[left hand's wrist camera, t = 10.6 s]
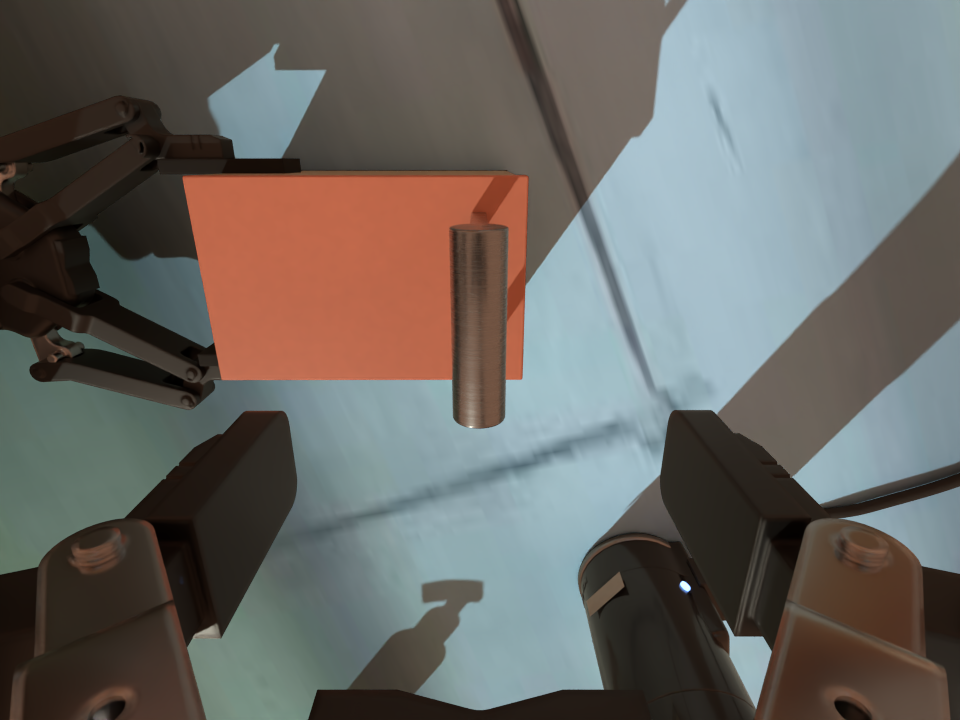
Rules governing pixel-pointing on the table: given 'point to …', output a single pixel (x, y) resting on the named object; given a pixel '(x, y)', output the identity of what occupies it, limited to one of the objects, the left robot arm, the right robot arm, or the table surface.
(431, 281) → the lid
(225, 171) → the right robot arm
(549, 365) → the table surface
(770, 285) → the table surface
